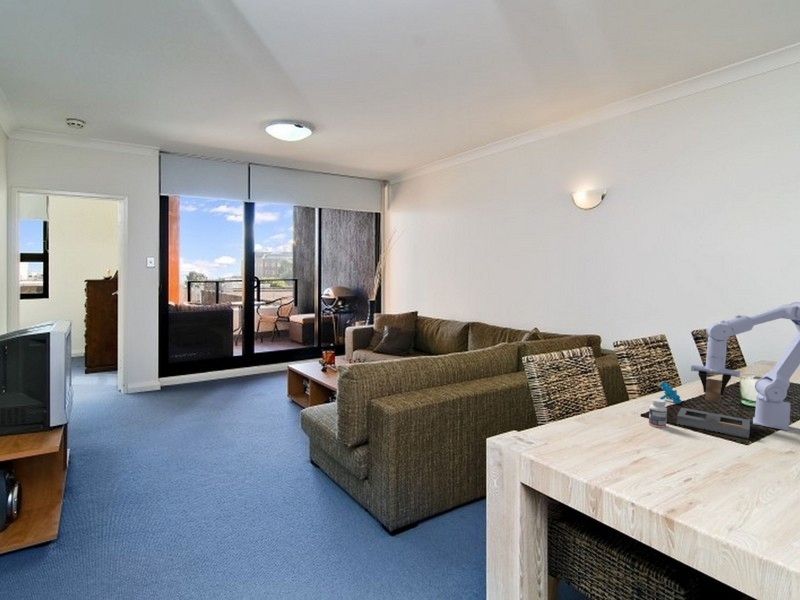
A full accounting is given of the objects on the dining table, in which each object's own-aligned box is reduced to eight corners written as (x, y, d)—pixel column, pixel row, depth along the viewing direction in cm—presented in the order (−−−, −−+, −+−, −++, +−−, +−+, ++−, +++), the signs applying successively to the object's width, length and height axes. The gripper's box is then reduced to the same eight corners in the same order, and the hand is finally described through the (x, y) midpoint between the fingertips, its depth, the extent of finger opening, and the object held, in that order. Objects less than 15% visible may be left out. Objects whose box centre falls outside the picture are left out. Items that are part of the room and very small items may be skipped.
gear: (676, 402, 176) (659, 380, 182) (663, 410, 179) (647, 388, 185) (687, 401, 183) (670, 380, 189) (674, 409, 186) (658, 388, 192)
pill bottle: (650, 421, 158) (651, 396, 158) (667, 425, 155) (668, 400, 154) (647, 425, 154) (648, 400, 153) (664, 429, 151) (666, 403, 150)
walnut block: (720, 399, 164) (721, 380, 163) (719, 401, 160) (721, 382, 160) (706, 396, 166) (707, 378, 166) (705, 399, 163) (706, 380, 162)
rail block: (749, 428, 153) (749, 419, 153) (748, 438, 144) (749, 428, 144) (680, 415, 166) (681, 406, 165) (676, 424, 156) (677, 415, 156)
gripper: (691, 355, 163) (688, 391, 165) (740, 361, 155) (737, 399, 156) (693, 352, 169) (690, 387, 170) (741, 358, 160) (738, 395, 161)
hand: (713, 393), depth 163 cm, fingers closed on walnut block, 4 cm apart
